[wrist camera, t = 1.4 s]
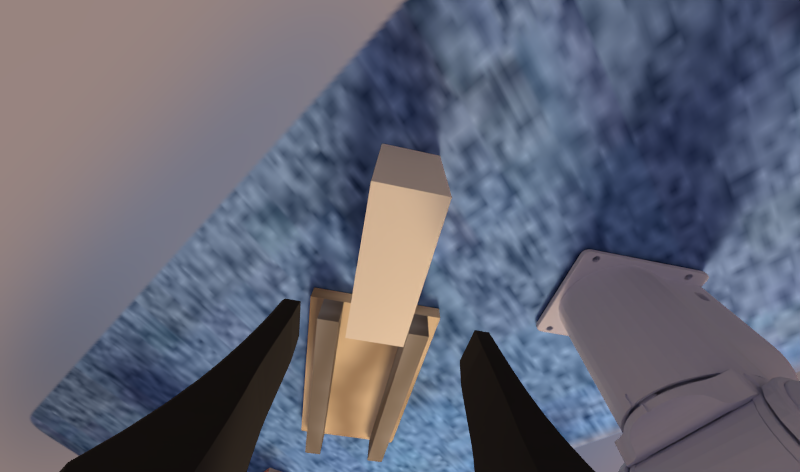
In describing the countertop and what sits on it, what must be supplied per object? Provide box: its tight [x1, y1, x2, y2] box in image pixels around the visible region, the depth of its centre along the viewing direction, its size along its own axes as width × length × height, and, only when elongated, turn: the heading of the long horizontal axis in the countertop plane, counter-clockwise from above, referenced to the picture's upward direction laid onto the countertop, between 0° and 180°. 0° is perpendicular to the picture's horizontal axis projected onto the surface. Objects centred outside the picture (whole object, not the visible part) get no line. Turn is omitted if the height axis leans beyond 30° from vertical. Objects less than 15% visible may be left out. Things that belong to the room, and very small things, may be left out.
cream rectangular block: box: [345, 144, 452, 347], centre depth 18 cm, size 4×10×6 cm, turn 168°
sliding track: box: [302, 288, 440, 462], centre depth 28 cm, size 10×20×3 cm, turn 168°
